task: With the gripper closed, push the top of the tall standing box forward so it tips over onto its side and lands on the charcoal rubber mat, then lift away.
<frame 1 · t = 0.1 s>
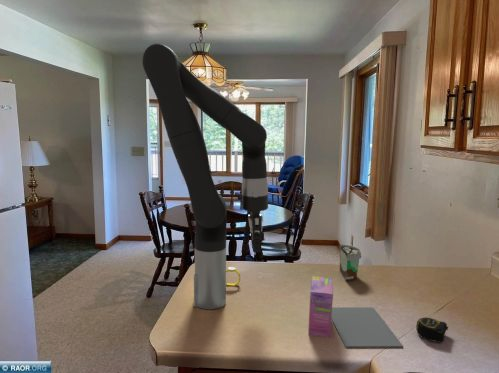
hand: (255, 247, 110), 17 cm above the worktop, fingers open, 8 cm apart
box: (319, 327, 99), on the worktop
tape measure: (433, 337, 95), on the worktop
food container: (350, 276, 135), on the worktop
mat: (360, 326, 100), on the worktop
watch: (231, 285, 125), on the worktop
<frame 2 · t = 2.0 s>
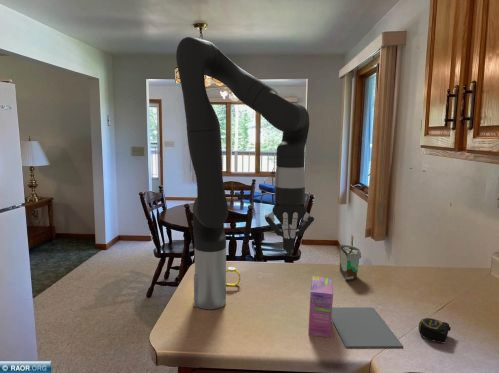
hand: (288, 251, 96), 21 cm above the worktop, fingers closed
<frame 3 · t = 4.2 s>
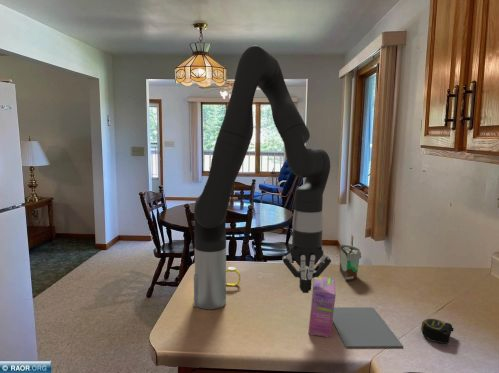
hand: (305, 291, 98), 10 cm above the worktop, fingers closed
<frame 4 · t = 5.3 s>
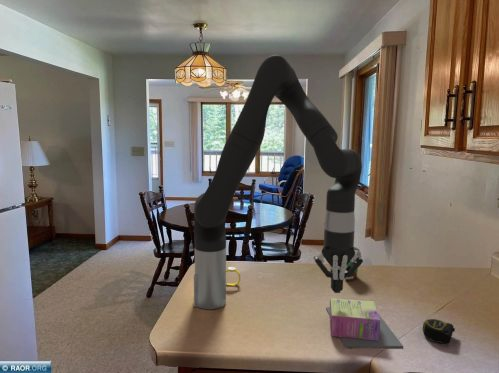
hand: (336, 291, 98), 10 cm above the worktop, fingers closed
box: (329, 316, 98), point 3 cm above the worktop, touching mat
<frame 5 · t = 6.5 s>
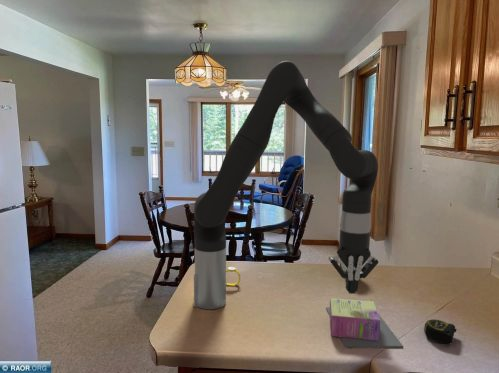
hand: (351, 292, 98), 10 cm above the worktop, fingers closed
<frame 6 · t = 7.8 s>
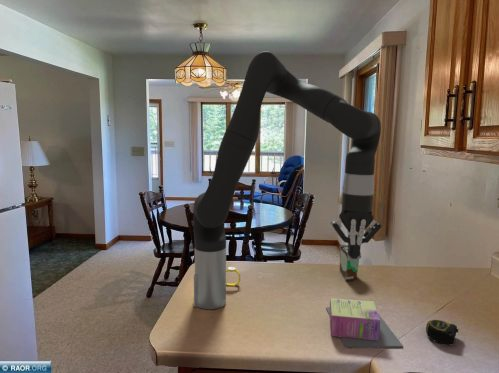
hand: (353, 257, 96), 19 cm above the worktop, fingers closed
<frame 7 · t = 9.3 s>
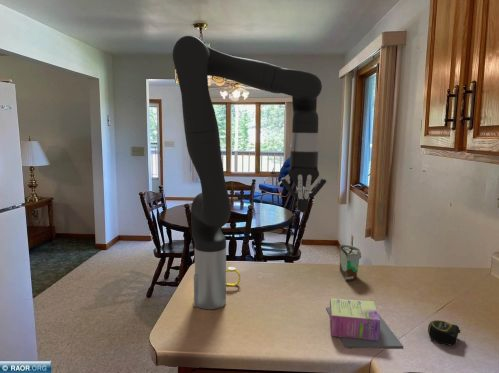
hand: (302, 211, 105), 29 cm above the worktop, fingers closed
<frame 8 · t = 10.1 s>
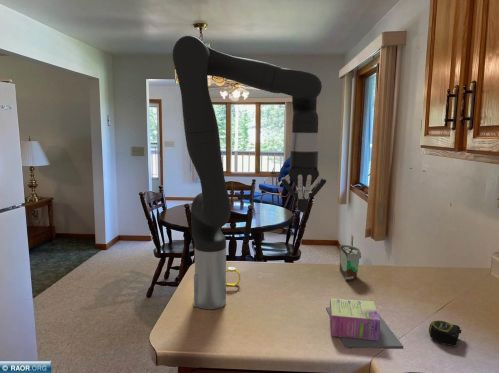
hand: (302, 211, 105), 29 cm above the worktop, fingers closed
at the end: box tilted 89°; box touching mat; box inside the target area (3.4 cm from its centre), point 3.1 cm above the worktop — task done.
